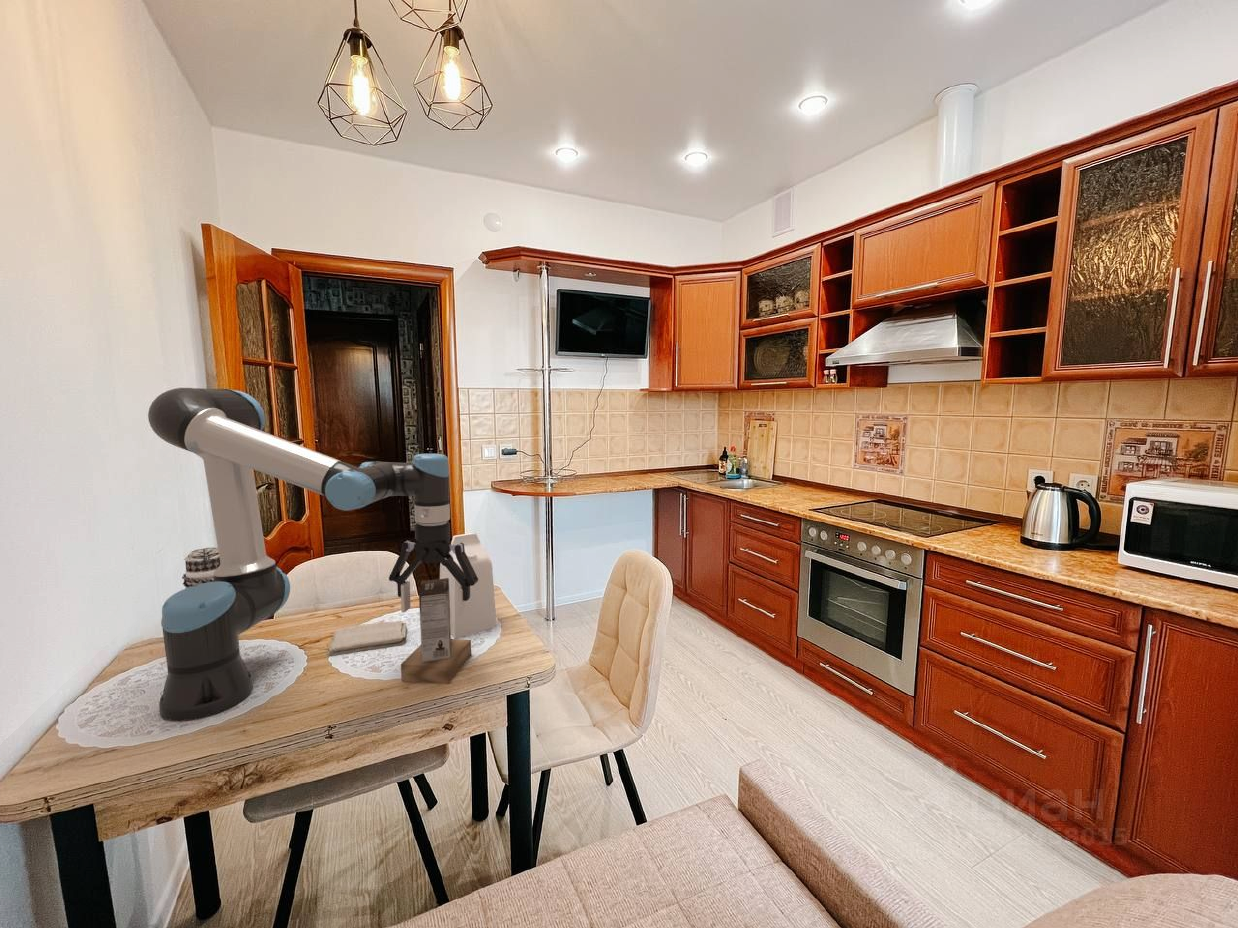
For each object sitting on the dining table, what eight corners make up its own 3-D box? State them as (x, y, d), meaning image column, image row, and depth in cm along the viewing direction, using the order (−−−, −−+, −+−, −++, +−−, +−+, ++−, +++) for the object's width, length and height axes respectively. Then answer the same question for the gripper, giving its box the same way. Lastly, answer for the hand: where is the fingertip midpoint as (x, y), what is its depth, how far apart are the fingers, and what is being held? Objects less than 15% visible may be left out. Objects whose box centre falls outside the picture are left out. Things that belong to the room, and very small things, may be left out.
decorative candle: (188, 644, 130) (179, 549, 127) (233, 633, 136) (225, 543, 133) (190, 657, 123) (180, 557, 120) (237, 645, 129) (229, 550, 126)
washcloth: (407, 646, 131) (406, 634, 130) (327, 659, 124) (326, 647, 124) (407, 627, 142) (406, 616, 141) (333, 638, 135) (333, 627, 134)
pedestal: (401, 681, 113) (400, 664, 113) (428, 653, 126) (427, 637, 126) (449, 683, 112) (448, 666, 112) (471, 655, 125) (470, 639, 125)
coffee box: (423, 644, 122) (420, 580, 120) (451, 640, 124) (448, 577, 122) (421, 663, 113) (418, 593, 111) (451, 658, 115) (449, 590, 114)
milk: (479, 613, 150) (476, 527, 147) (496, 626, 142) (494, 535, 138) (438, 624, 143) (435, 533, 140) (454, 638, 134) (451, 542, 131)
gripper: (370, 523, 112) (373, 615, 115) (480, 528, 110) (480, 621, 113) (388, 516, 120) (391, 602, 122) (491, 520, 118) (492, 608, 120)
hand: (434, 611), depth 118 cm, fingers open, 13 cm apart
